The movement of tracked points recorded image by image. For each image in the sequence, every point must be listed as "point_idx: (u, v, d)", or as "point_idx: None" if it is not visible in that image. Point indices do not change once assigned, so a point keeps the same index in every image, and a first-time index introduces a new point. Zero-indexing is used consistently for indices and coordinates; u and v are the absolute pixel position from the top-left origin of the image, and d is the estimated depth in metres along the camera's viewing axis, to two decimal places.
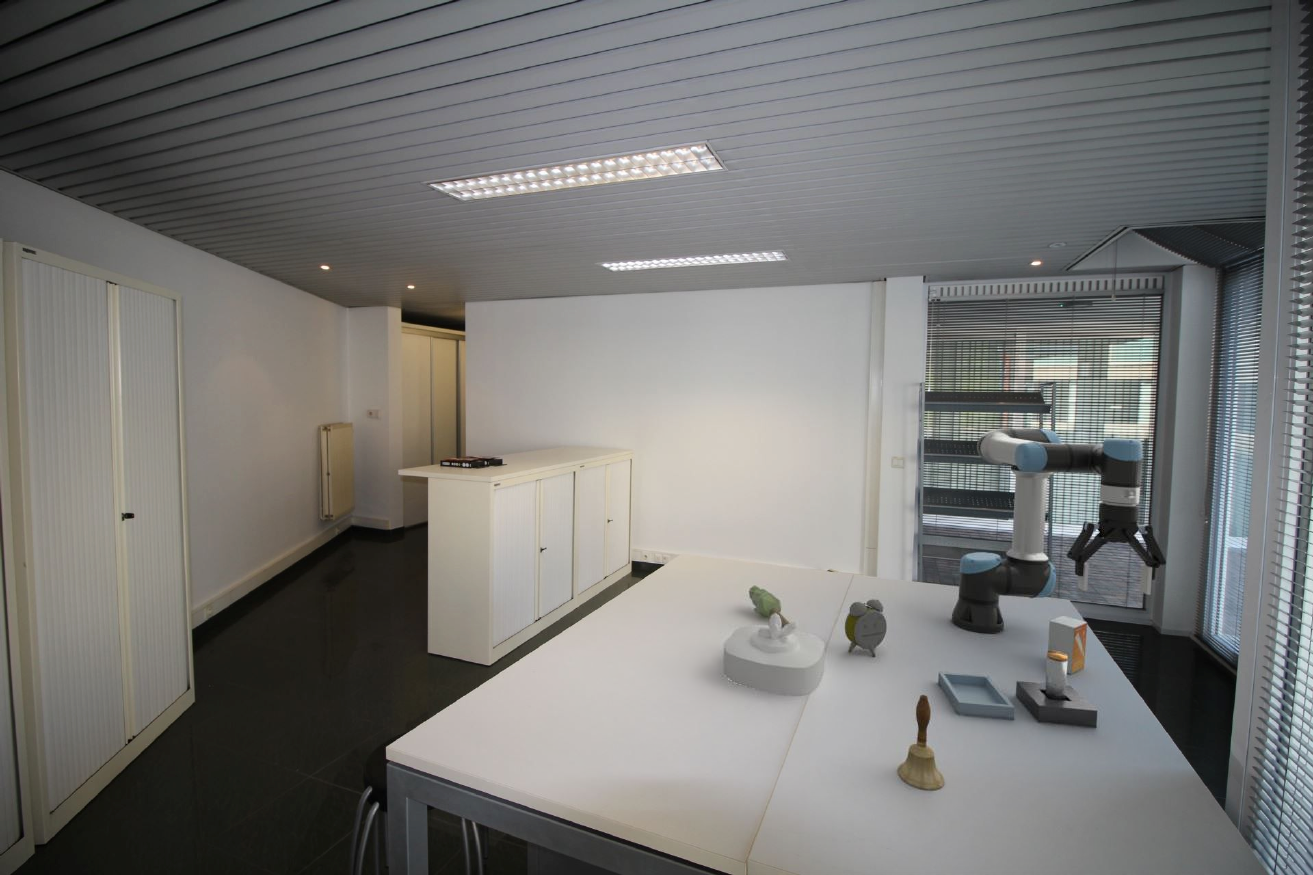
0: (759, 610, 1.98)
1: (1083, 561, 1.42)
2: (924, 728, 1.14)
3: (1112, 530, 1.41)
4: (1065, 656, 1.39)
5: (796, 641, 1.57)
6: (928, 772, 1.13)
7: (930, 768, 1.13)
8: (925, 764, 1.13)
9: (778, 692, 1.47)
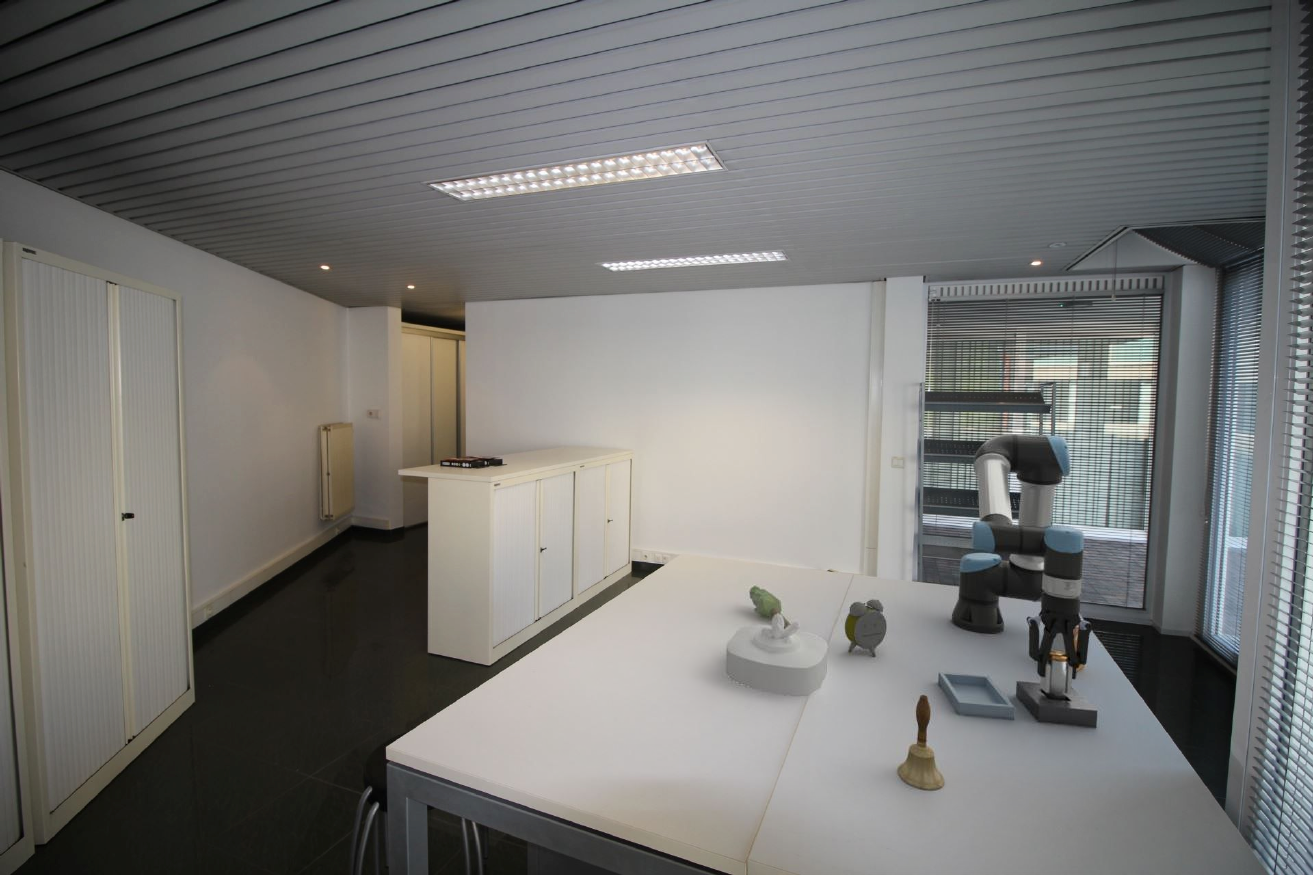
0: (759, 610, 1.98)
1: (1045, 662, 1.39)
2: (924, 728, 1.14)
3: (1053, 622, 1.38)
4: (1065, 656, 1.39)
5: (799, 641, 1.57)
6: (928, 772, 1.13)
7: (930, 768, 1.13)
8: (925, 764, 1.13)
9: (780, 692, 1.47)
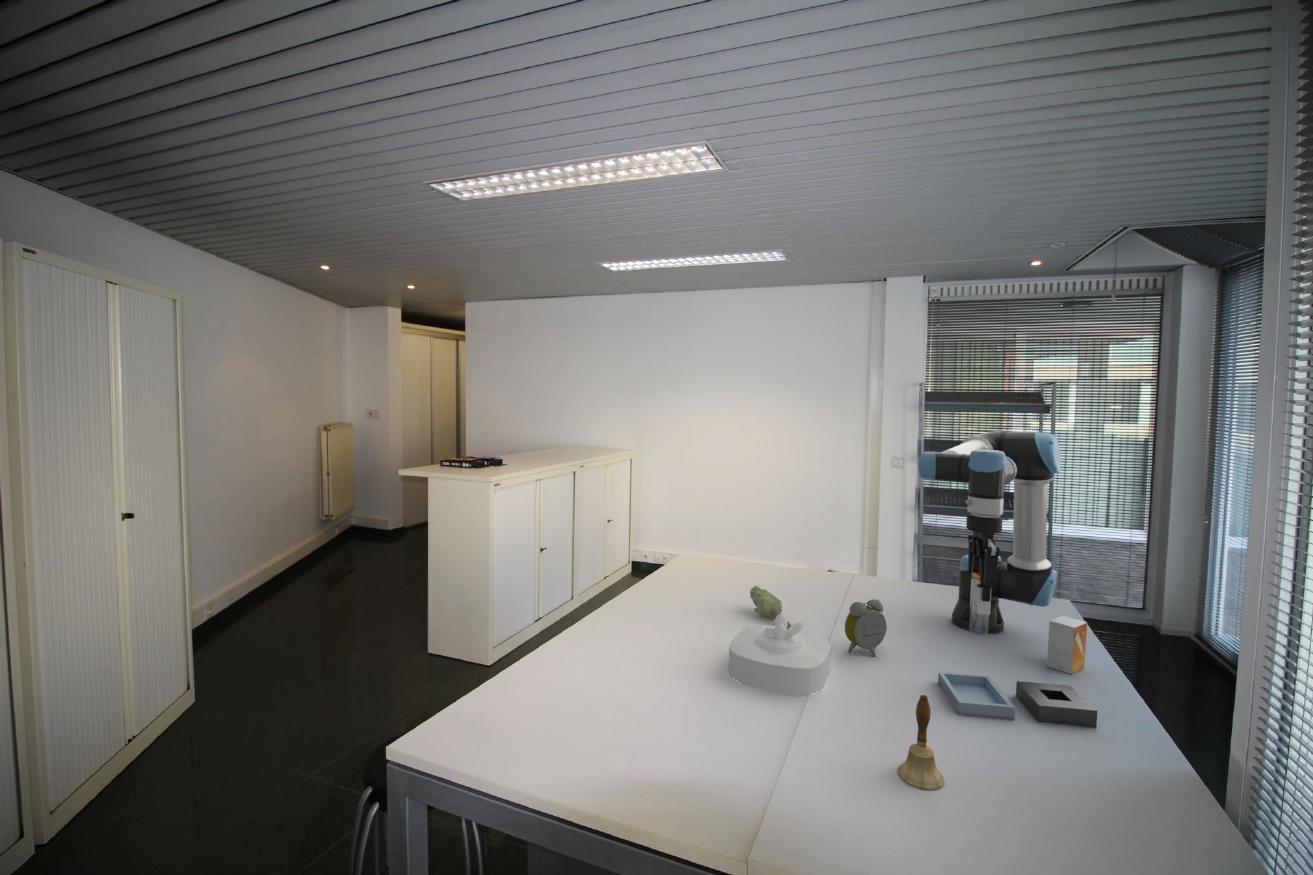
0: (760, 610, 1.97)
1: (970, 576, 1.47)
2: (924, 728, 1.14)
3: None
4: (977, 575, 1.43)
5: (802, 641, 1.57)
6: (928, 772, 1.13)
7: (930, 768, 1.13)
8: (925, 764, 1.13)
9: (783, 692, 1.47)
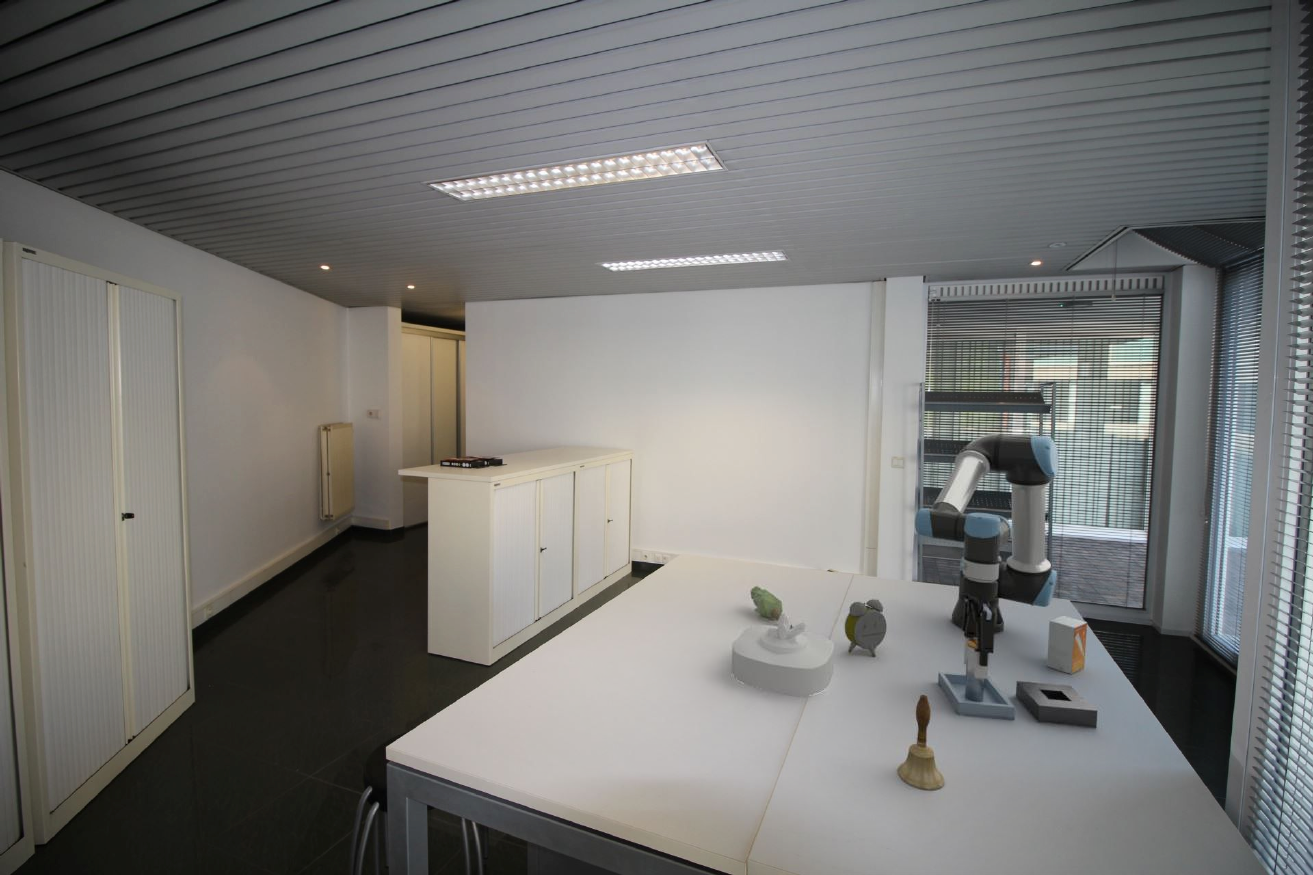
0: (760, 611, 1.97)
1: (964, 634, 1.49)
2: (924, 728, 1.14)
3: None
4: (973, 643, 1.44)
5: (805, 642, 1.57)
6: (928, 772, 1.13)
7: (930, 768, 1.13)
8: (925, 764, 1.13)
9: (786, 693, 1.47)
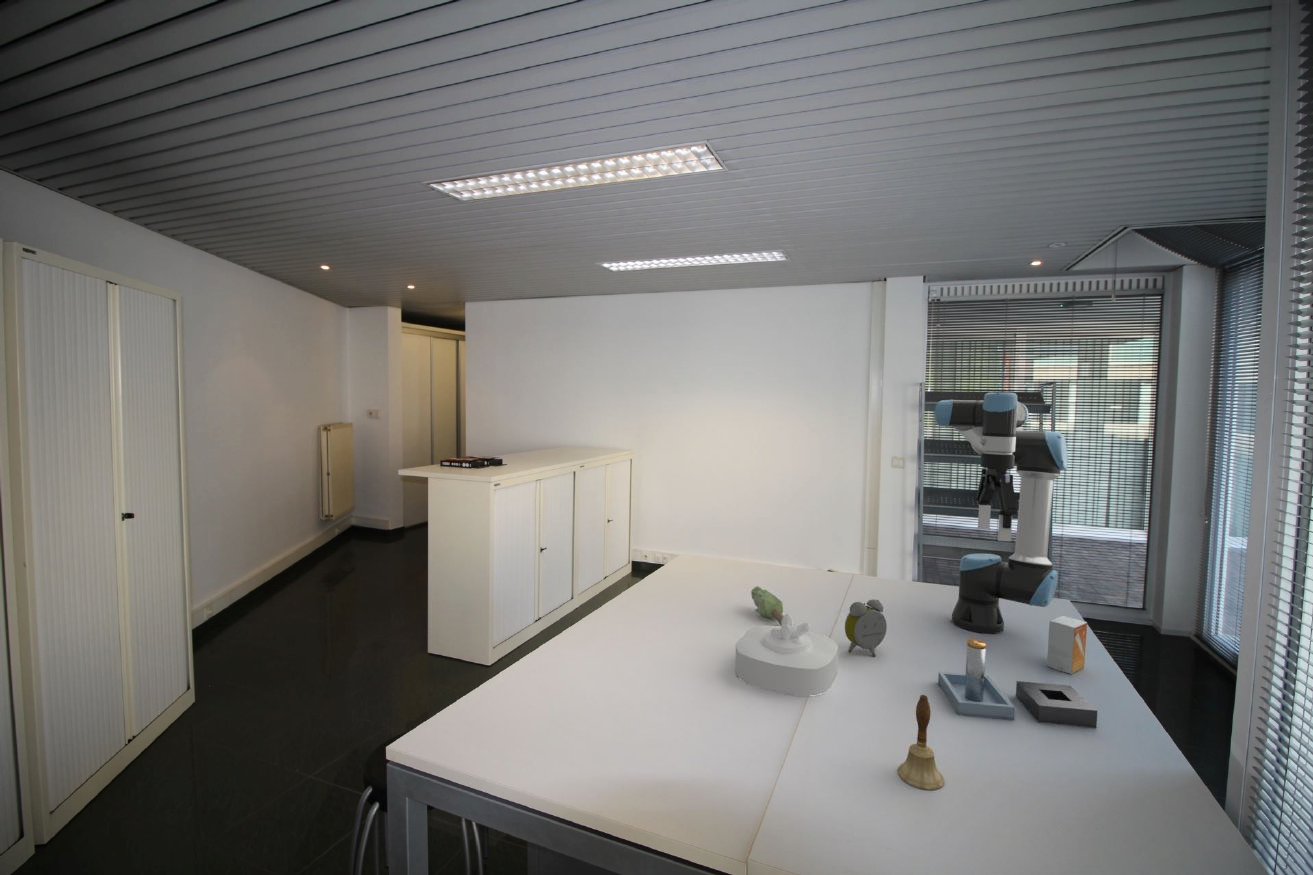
0: (761, 611, 1.97)
1: (978, 502, 1.61)
2: (924, 728, 1.14)
3: None
4: (973, 643, 1.44)
5: (808, 642, 1.57)
6: (928, 772, 1.13)
7: (930, 768, 1.13)
8: (925, 764, 1.13)
9: (789, 693, 1.47)
